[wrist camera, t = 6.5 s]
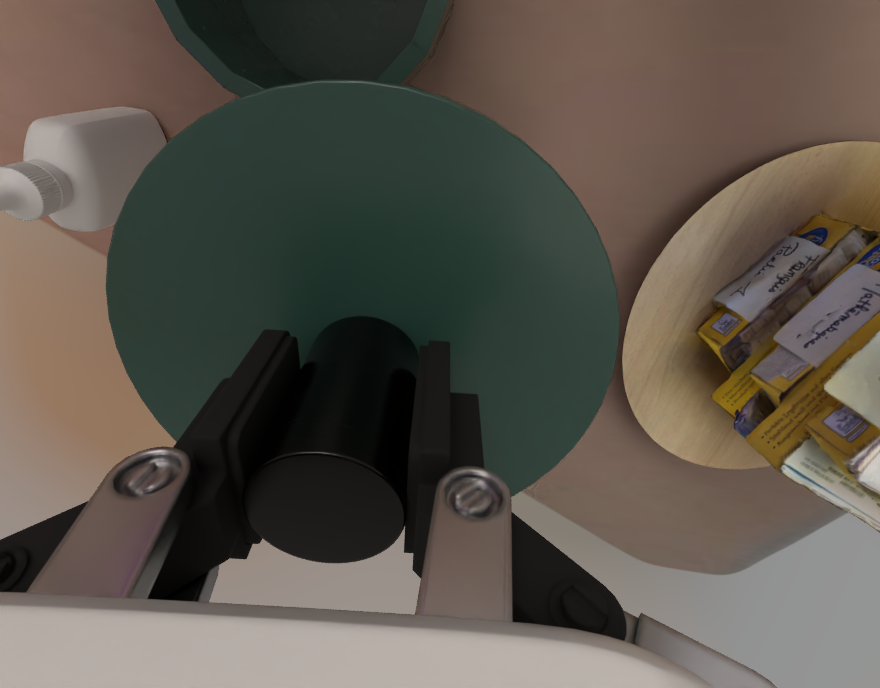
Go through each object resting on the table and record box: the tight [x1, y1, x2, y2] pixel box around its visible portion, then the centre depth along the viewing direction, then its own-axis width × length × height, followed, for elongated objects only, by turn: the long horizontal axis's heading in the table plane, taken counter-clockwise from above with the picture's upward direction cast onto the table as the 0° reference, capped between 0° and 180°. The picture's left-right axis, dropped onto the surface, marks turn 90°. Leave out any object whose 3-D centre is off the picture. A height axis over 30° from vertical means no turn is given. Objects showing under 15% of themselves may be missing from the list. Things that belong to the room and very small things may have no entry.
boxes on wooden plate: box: [622, 141, 880, 532], centre depth 28 cm, size 25×25×17 cm
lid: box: [106, 79, 620, 563], centre depth 11 cm, size 14×14×6 cm
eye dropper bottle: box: [0, 106, 167, 232], centre depth 25 cm, size 4×6×12 cm
